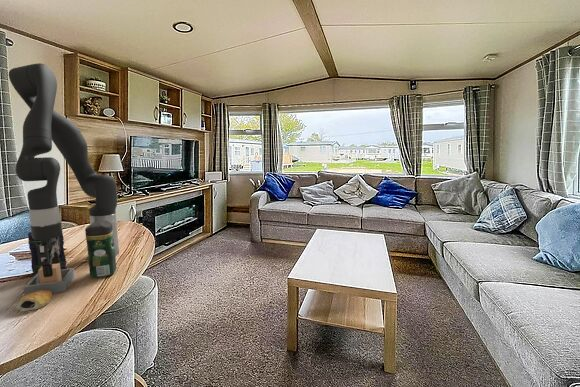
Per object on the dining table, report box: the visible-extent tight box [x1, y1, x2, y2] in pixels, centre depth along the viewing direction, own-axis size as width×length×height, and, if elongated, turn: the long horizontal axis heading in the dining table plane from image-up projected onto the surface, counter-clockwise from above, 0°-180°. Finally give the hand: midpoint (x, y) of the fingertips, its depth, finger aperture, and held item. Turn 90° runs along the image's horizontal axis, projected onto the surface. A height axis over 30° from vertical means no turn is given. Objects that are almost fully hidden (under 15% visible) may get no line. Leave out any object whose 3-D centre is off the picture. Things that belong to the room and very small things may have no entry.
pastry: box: [14, 290, 53, 312], centre depth 90 cm, size 9×7×4 cm
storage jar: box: [27, 231, 68, 277], centre depth 112 cm, size 10×10×15 cm
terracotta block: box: [38, 263, 62, 284], centre depth 101 cm, size 4×4×6 cm
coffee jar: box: [84, 221, 117, 279], centre depth 110 cm, size 10×8×19 cm
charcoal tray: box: [23, 267, 76, 296], centre depth 101 cm, size 12×10×3 cm
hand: (52, 271), depth 101 cm, fingers open, 8 cm apart
